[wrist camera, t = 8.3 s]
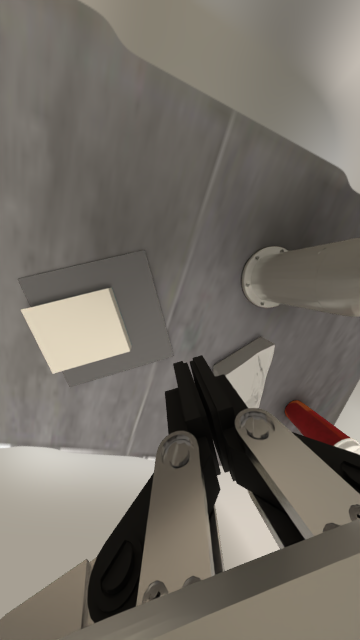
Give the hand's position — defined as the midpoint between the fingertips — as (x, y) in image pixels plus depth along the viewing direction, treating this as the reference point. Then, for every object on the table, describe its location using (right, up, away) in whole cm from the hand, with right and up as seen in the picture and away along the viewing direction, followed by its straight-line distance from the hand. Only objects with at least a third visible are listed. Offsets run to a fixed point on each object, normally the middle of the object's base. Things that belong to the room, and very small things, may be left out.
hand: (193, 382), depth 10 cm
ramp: (+13, -13, +34) cm, 38 cm away
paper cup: (+31, -21, +38) cm, 53 cm away
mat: (-15, +3, +24) cm, 29 cm away
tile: (-12, +4, +23) cm, 26 cm away
